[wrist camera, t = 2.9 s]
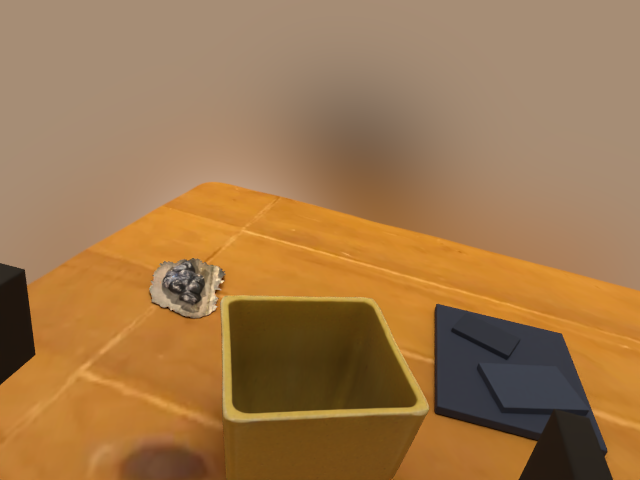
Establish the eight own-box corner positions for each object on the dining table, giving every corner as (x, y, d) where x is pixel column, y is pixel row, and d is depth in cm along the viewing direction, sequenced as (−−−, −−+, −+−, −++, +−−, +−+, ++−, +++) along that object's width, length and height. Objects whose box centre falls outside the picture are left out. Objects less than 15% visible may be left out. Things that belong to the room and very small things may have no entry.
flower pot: (212, 414, 30) (220, 291, 26) (348, 409, 32) (375, 295, 28) (211, 561, 23) (223, 420, 19) (389, 543, 25) (434, 412, 21)
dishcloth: (559, 339, 44) (564, 328, 43) (604, 458, 32) (611, 445, 31) (434, 309, 45) (438, 298, 44) (434, 413, 33) (439, 399, 33)
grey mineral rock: (218, 263, 46) (219, 245, 46) (243, 312, 40) (245, 292, 39) (142, 270, 44) (141, 251, 43) (157, 324, 37) (157, 303, 36)
